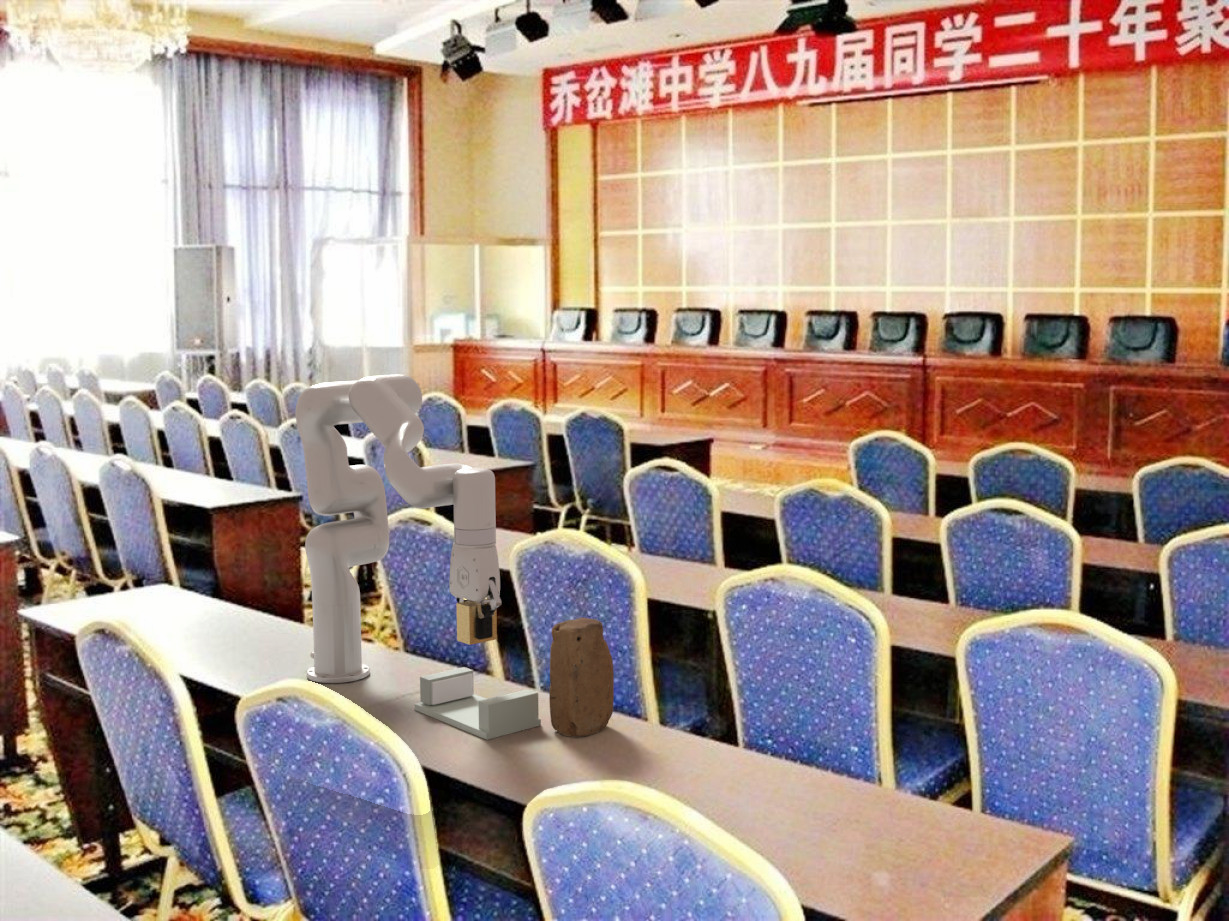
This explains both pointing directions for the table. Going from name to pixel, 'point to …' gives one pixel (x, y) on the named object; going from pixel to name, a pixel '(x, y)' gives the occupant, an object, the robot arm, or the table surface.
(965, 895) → the table surface
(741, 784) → the table surface
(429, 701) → the sliding jaw
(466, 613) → the tan rectangular workpiece
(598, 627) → the block
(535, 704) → the vise body
